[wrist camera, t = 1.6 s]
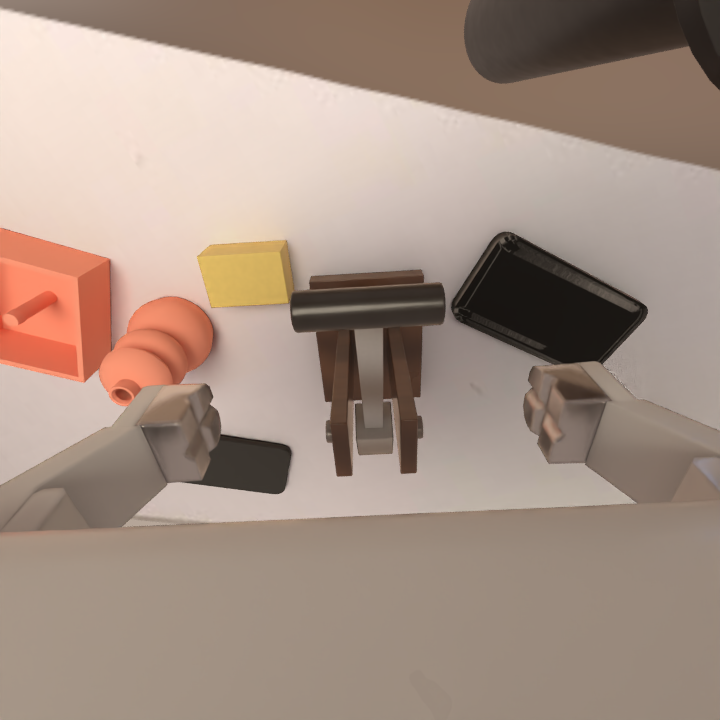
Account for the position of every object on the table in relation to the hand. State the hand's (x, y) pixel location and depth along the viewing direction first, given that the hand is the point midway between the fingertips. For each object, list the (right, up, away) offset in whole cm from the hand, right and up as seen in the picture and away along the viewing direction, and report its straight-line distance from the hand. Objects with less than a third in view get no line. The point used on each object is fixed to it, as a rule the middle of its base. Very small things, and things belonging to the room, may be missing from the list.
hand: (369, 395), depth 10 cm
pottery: (-22, +5, +23) cm, 32 cm away
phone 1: (-15, -10, +33) cm, 38 cm away
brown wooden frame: (+1, +3, +25) cm, 25 cm away
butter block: (-9, +8, +21) cm, 25 cm away
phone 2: (+16, +5, +23) cm, 29 cm away
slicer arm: (0, +1, +11) cm, 11 cm away
